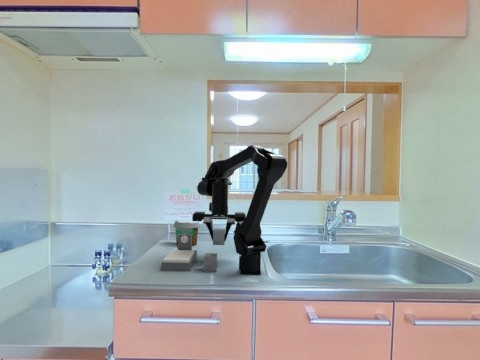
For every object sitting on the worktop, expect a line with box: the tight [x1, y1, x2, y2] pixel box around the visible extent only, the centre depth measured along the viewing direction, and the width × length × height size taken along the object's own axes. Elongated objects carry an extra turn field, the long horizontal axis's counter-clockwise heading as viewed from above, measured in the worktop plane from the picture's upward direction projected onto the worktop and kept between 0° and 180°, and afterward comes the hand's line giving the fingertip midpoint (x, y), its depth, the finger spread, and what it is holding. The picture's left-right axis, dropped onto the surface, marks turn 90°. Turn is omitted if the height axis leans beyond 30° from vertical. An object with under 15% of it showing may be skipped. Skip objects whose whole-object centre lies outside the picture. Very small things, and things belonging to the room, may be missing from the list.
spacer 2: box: [212, 228, 226, 246], centre depth 116 cm, size 4×4×5 cm
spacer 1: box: [203, 252, 218, 273], centre depth 105 cm, size 4×4×5 cm
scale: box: [161, 234, 198, 272], centre depth 112 cm, size 9×17×8 cm, turn 0°
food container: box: [173, 219, 200, 247], centre depth 139 cm, size 12×6×10 cm, turn 62°
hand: (219, 240), depth 116 cm, fingers closed on spacer 2, 4 cm apart
